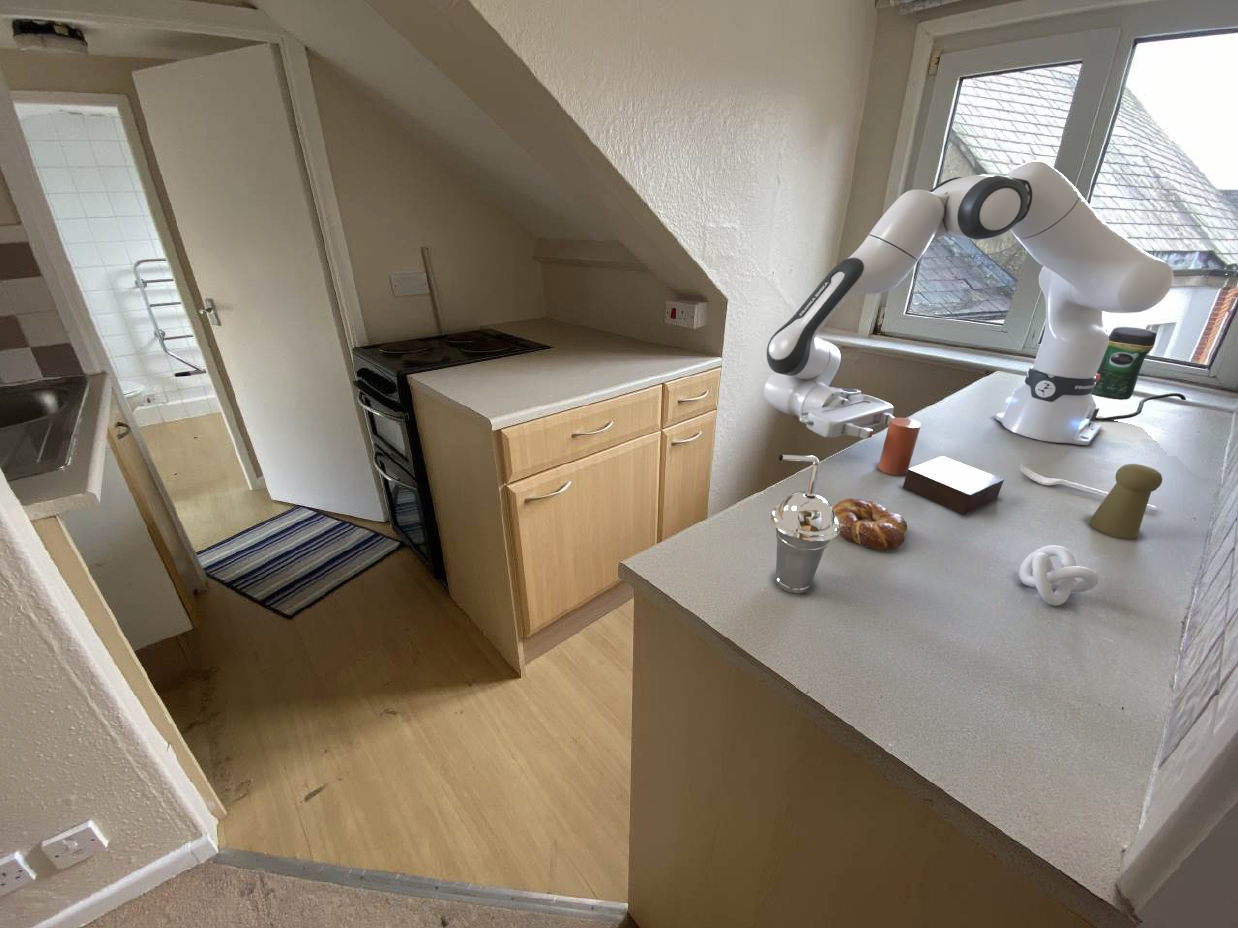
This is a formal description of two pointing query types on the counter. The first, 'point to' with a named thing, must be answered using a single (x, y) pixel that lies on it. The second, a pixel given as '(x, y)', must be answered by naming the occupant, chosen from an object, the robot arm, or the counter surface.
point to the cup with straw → (802, 532)
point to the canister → (899, 446)
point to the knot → (1055, 574)
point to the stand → (953, 484)
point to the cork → (1126, 501)
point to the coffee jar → (1123, 362)
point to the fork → (1065, 483)
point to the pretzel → (869, 524)
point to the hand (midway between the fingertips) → (885, 430)
